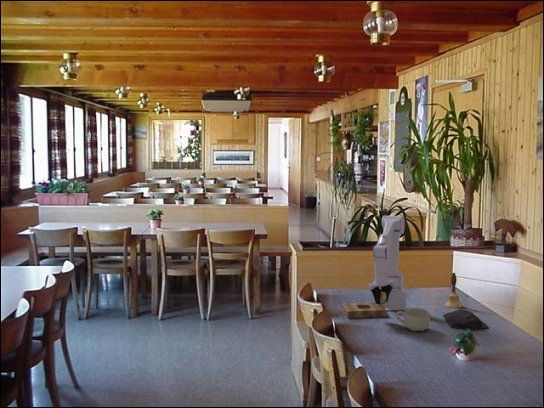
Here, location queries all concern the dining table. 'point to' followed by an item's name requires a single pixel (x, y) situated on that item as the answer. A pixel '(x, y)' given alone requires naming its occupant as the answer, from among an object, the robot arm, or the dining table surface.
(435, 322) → the dining table surface
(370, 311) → the board
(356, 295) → the dining table surface
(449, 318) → the dark slate chunk
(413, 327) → the teacup
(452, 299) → the hand bell
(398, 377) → the dining table surface
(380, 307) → the peg
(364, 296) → the dining table surface
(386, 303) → the robot arm
